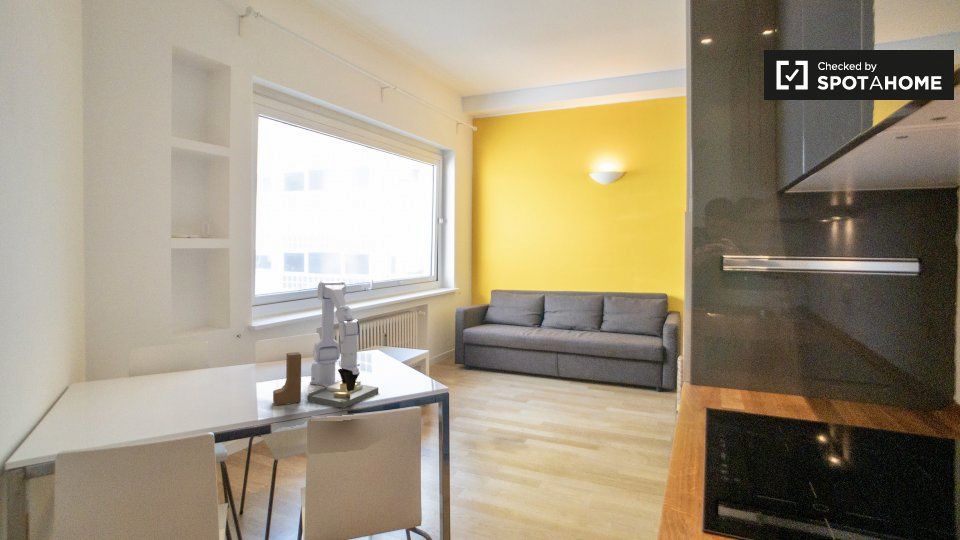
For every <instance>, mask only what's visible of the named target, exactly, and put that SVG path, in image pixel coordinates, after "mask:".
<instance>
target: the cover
mask: <svg viewBox="0 0 960 540" xmlns="http://www.w3.org/2000/svg"><path fill="white" fill-rule="evenodd" d="M340 381H341V380H340ZM361 382H362V381H361V380H357V379H356V382H355V383H357V390H359V389H361V388H363V385H364V384H362V383H361ZM340 383H342V381H341V382H339V383H336V384H334V385H331V386H328V387H327V390H330V391H335V392H341V393H347V390H340ZM351 392H354V391H350V393H351Z"/></svg>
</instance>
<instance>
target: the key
mask: <svg viewBox="0 0 960 540" xmlns="http://www.w3.org/2000/svg"><path fill="white" fill-rule="evenodd" d="M340 390H347V386H346V383H340ZM356 390H357V383H355V386H354V390H352V391H356ZM334 396H341V397H347V398H350V391H347V393H341V392H334Z"/></svg>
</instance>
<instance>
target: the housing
mask: <svg viewBox="0 0 960 540" xmlns="http://www.w3.org/2000/svg"><path fill="white" fill-rule="evenodd" d="M341 381H342V379H341V380H339V381H338V382H336V383H339V382H341ZM336 383H333V384H330V385H328V386H331V385H334V384H336ZM362 385H363V388H361V389H359V390H356V391H354V392H351V393H350V398H347V397H341V396H334V392H335V391H330V390H327V387H328V386H323V387H320V388H318V389H315V390H313V391H310V392H308V393H307V395H306V397H307V398H306V399H307V400H308V402H312V403H318V404H322V405H327V406H332V407H336V408H337V407H338V408H343V409H345V408H347V407H349V406H352V405H353V404H356V403H358V402H360V401H363V400H365V399H367V398H369V397H372V396H374V395H375V393H376V394H377V392H378V393H379V387H377V386H372V385H367V384H362ZM373 394H374V395H373ZM307 400H306V401H307Z"/></svg>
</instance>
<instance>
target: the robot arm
mask: <svg viewBox="0 0 960 540" xmlns="http://www.w3.org/2000/svg"><path fill="white" fill-rule="evenodd" d="M346 287H347V286H346V282H344V280H338V281H337V280H336V281H333V280H332V281H330V280H329V281H323V280H321V281H320V282H318V285H317V299H318V300H319V301H321V338H320V339H319V340H318V341H316V342H315V343H314V344H313V346H314V347H313V350H312V356H313V360H314V361H313V363H312V364H311V368H310V372H311V373H310V382H309V384H312V385H318V386H323V387H325V386H328V385H330V384H333V383H336V382H338V381H340V379H341V380H342V383H346V386H347V391H352V390H354V386H355V382H356V380H357V379H358V378H359V376H360V374H361V373H360V369H359V367H360V366H361V364H360V363H359V362H358V360H357V358H358V336H359V335H360V332H361V325H360V322H359V320H358V319H356V318H354V315H353V312H352V310H351V308H350V307H349V306H348V305H347V304H346V300H345V295H346V291H347V288H346ZM335 308H336V310H335ZM335 316H336V319H337V322H338V325H339V326H338V334H339V339H340V340H339V341H340V344H339V342H338V341H337V340H336V339H334V328H335V326H334V325H335V322H334V321H335ZM339 359H340V360H339ZM337 362H338V364H339V366H338V367H340V368H339V369H337V371H338V373H339V376H340V379H336V363H337Z"/></svg>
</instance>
